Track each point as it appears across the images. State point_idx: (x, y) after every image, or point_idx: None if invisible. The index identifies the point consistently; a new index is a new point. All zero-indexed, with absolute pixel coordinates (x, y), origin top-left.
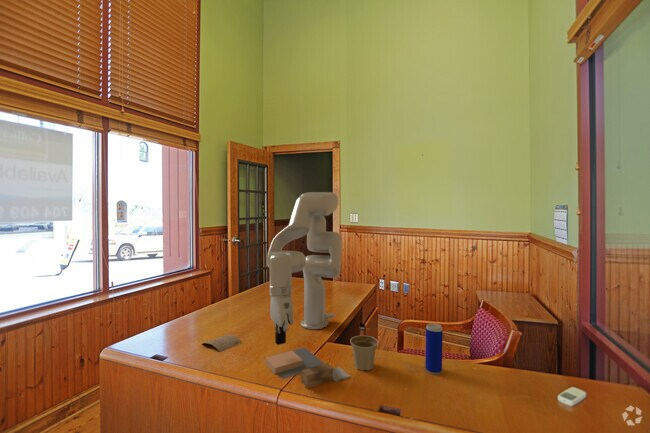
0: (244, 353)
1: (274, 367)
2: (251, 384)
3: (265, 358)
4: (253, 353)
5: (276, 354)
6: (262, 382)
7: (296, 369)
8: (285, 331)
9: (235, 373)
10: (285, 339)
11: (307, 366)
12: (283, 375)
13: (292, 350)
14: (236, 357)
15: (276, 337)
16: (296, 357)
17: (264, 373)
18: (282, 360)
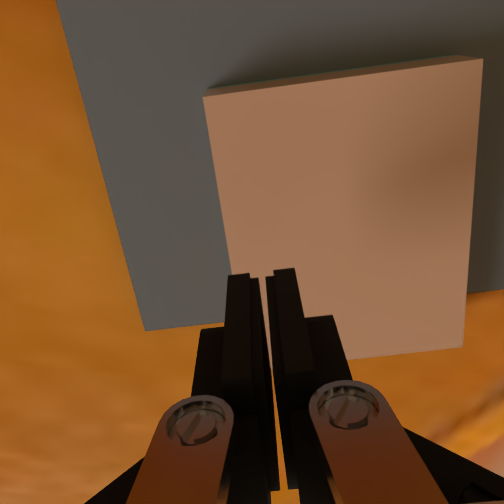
0: (12, 429)
1: (455, 347)
2: (455, 446)
3: (165, 326)
4: (27, 377)
5: (118, 228)
6: (473, 393)
7: (480, 138)
8: (386, 413)
9: (282, 498)
10: (299, 292)
11: (493, 7)
12: (499, 265)
13: (72, 43)
14: (65, 476)
15: (275, 433)
16: (388, 108)
17: (371, 364)
18: (373, 260)
